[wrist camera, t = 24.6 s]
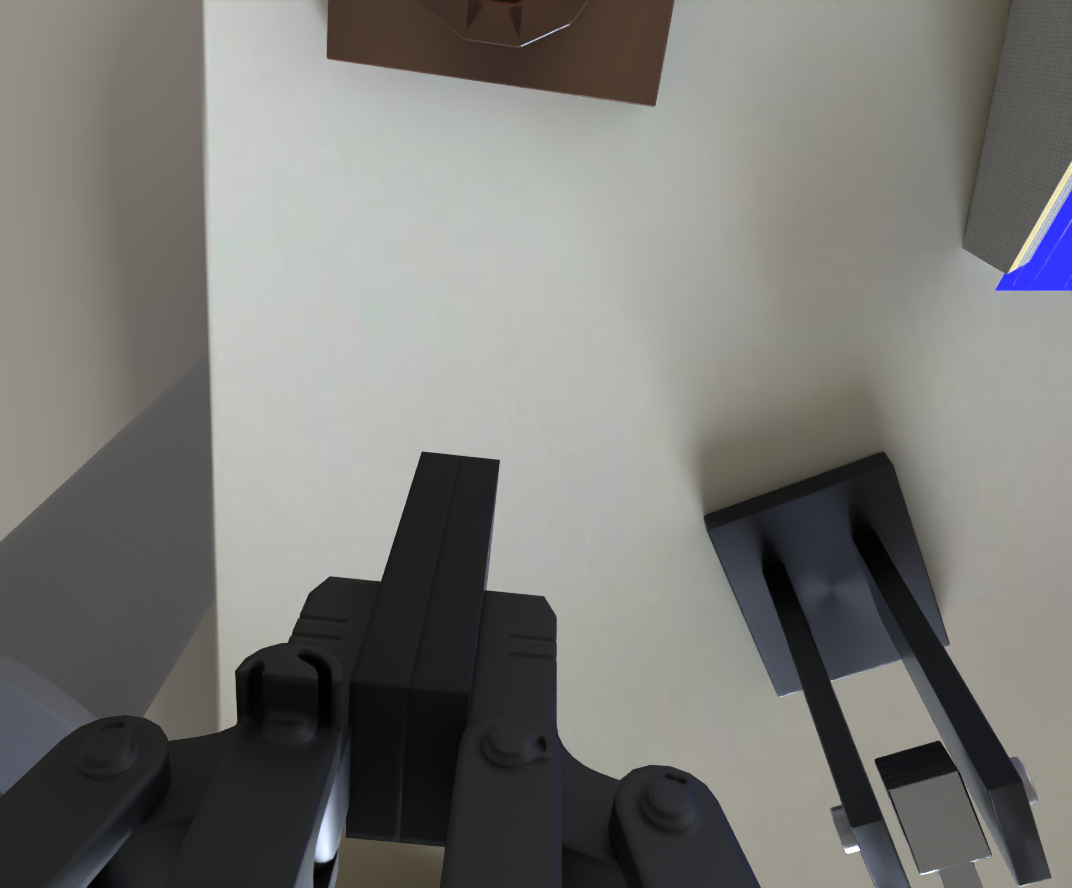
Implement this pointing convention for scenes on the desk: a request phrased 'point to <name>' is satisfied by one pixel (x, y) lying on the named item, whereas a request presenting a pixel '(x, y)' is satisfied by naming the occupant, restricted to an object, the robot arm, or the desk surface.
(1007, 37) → the roof
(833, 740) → the bracket
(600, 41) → the button block
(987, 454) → the desk surface
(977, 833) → the lever
